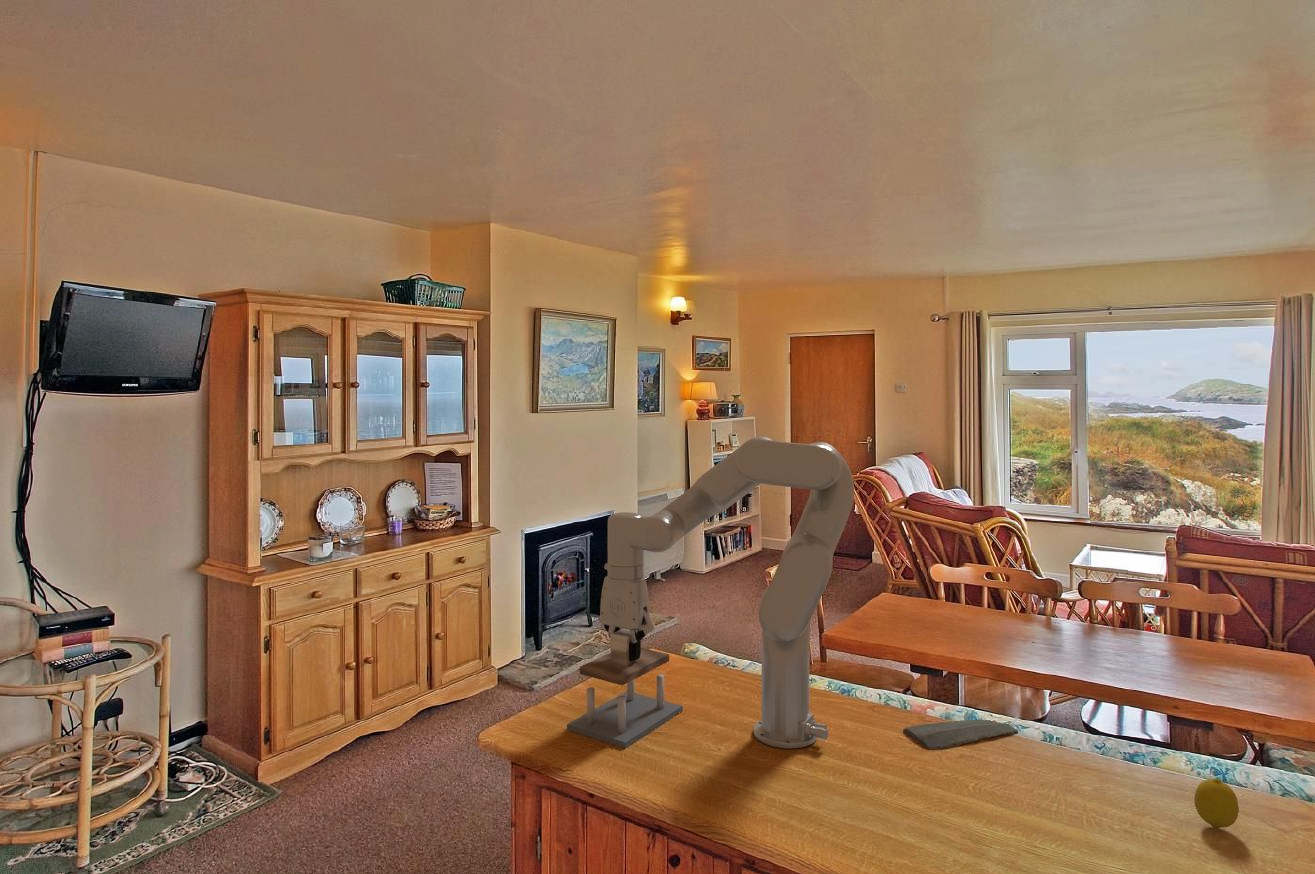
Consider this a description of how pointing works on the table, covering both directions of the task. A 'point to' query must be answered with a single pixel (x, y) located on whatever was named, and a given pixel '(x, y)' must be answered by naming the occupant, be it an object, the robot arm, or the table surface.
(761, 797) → the table surface
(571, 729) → the peg stand
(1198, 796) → the lemon
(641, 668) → the shelf board
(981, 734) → the stone slab
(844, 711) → the table surface
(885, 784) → the table surface
